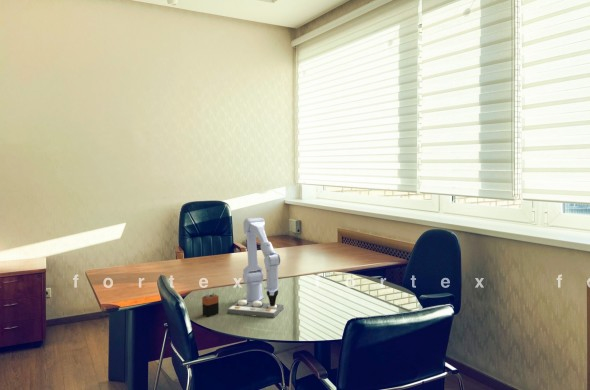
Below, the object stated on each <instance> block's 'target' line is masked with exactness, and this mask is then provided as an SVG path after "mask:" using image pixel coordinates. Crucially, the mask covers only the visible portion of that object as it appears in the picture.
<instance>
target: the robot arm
mask: <svg viewBox="0 0 590 390" xmlns="http://www.w3.org/2000/svg"><path fill="white" fill-rule="evenodd" d="M242 224H243V233H244V234H245V236H246V247H247V249H246V250H247V266H246V267H244V268H243V274H242V279H243V282H244V284H245V285H246V298H245V299H244V300H247V302H254V301H261V300H262V299H263V298H265V296H264V295H263V290H266V295H267V298H268V301H269V304H270V306H275V304H276V300H277V297H278V294H279V287H280V286H279V265H280V264H281V257H280V255H279V253H278V252H277V251H275V249H274V247H273V244H272V242H271V241H269V240H268V237H267V234H266V231H265V227H266V221H265V219H264V218H263V217H262V216H261V217H251V218H249V217H248V218H245V219H244V220H243V223H242ZM257 238H258V241H260V246H259V247H260V250H261V252H262V255H263V257H264V258H263V262H264V266H265V267H264V268H265V271H266V273H265V274H266V277H265V278H266V286H263V285H262V282H263V280H264V271H263V268H262V267H261V266H260V265H259V263H258V248H257Z"/></svg>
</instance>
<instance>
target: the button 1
mask: <svg viewBox="0 0 590 390" xmlns="http://www.w3.org/2000/svg"><path fill="white" fill-rule="evenodd" d="M237 302H238V306H246V305H247V302H248V301H247V300H245V299H238V300H237Z"/></svg>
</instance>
